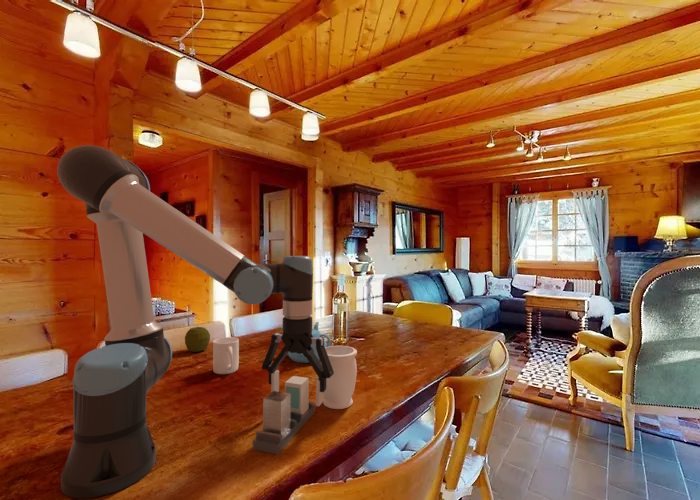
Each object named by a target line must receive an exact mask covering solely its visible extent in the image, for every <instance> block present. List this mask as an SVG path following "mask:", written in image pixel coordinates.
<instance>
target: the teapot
mask: <svg viewBox="0 0 700 500" xmlns="http://www.w3.org/2000/svg"><path fill="white" fill-rule="evenodd" d="M319 323H320V322H319V321H316V322H315V323H314V325H313V328H312V336H313V338H320V337H323V338H324V347H329V346H331V337H330V335H328V333H321V331H319ZM279 328H280V329H281V330H282V331H283V325H279ZM325 338H326V339H327V340H325ZM326 341H327V342H326ZM283 345H284V346H285V344H284V343H283ZM311 347H312V348H313V350H314V353H315V355H316V357H317V358H318V360H319V361H320V358H319V356H318V353H317V350H316V347H315V346H314V343H312V344H311ZM307 351H308V350H307ZM287 355H288V357H289V358H290V359H291V360H292V361H293V362H295V363H300V364H310V363H309V361H308V359H307V358H306V357H305V356H304V355H303V353H302V354H298V353H290V352H288V354H287ZM320 362H321V361H320Z"/></svg>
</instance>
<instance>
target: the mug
mask: <svg viewBox="0 0 700 500" xmlns="http://www.w3.org/2000/svg"><path fill="white" fill-rule="evenodd" d="M239 342H240V341H239V338H238V337H232V336H228V337H226V336H225V337H220V338H216V339H213V341H212V371H213V373H214V374H216V375H217V374H218V375H229V374H232V373H235V372H236V371H238V369H239V363H240V362H239V357H240V356H239V354H240V352H239V351H240V350H239V349H240V343H239Z"/></svg>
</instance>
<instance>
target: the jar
mask: <svg viewBox="0 0 700 500" xmlns="http://www.w3.org/2000/svg"><path fill="white" fill-rule="evenodd" d="M325 349H326V352H327V355H328V357H329V360H330V363H331V366H332V368H333V371H334V374H333V375H332V376H331V377H330V378H327V379H326V390H325V391H324V392H323V402H322V404H323V405H324V407H326V408H328V409H332V410H343V409H347V408H350V407H351V406H352V405H353V403H354V402H353V398H352V397H353V395H354V392H355V387H356V381H357V374H358V369H357V368H358V367H357V365H358V364H357V360H356V356H357V354H358V351H357V349H356V348H354V347H352V346H348V345H330V346H329V347H325ZM321 365H322V364H321Z"/></svg>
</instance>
